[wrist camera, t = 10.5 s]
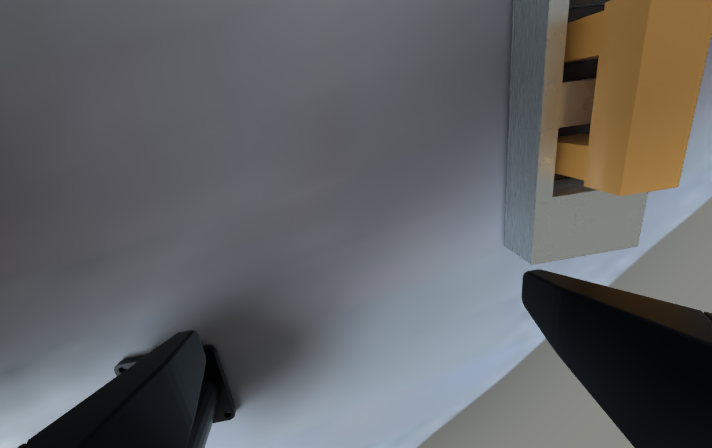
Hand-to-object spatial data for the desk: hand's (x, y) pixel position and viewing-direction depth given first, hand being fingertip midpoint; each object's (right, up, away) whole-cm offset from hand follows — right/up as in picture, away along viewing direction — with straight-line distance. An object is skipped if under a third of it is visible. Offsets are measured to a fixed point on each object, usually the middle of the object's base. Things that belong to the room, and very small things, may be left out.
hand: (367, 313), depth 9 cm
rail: (+12, +10, +11) cm, 19 cm away
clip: (+12, +10, +11) cm, 19 cm away
